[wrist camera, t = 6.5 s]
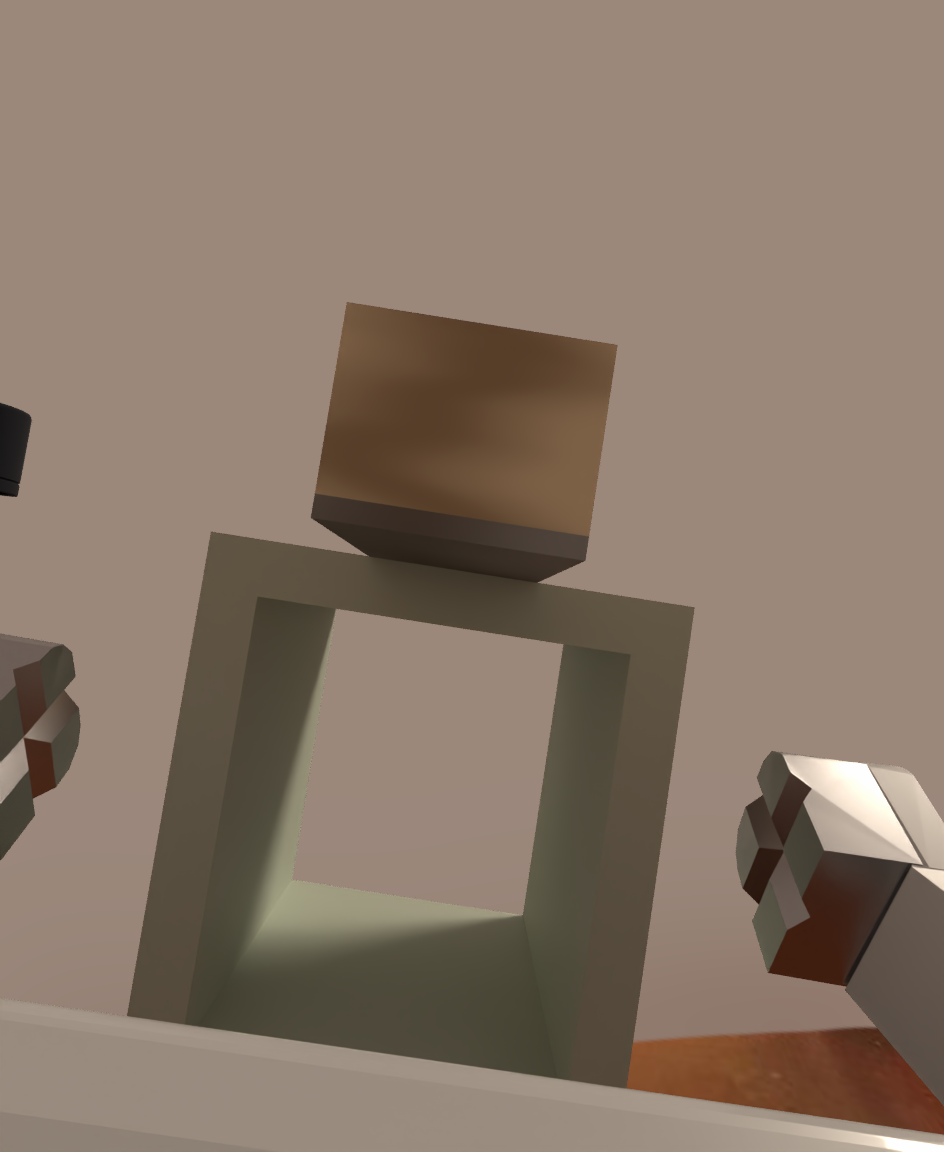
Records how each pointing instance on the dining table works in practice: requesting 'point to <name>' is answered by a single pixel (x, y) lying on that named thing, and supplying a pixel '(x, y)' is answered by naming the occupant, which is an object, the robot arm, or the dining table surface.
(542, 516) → the block
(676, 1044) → the dining table surface
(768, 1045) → the dining table surface
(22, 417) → the wine bottle
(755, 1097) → the dining table surface
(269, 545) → the shelf stand
